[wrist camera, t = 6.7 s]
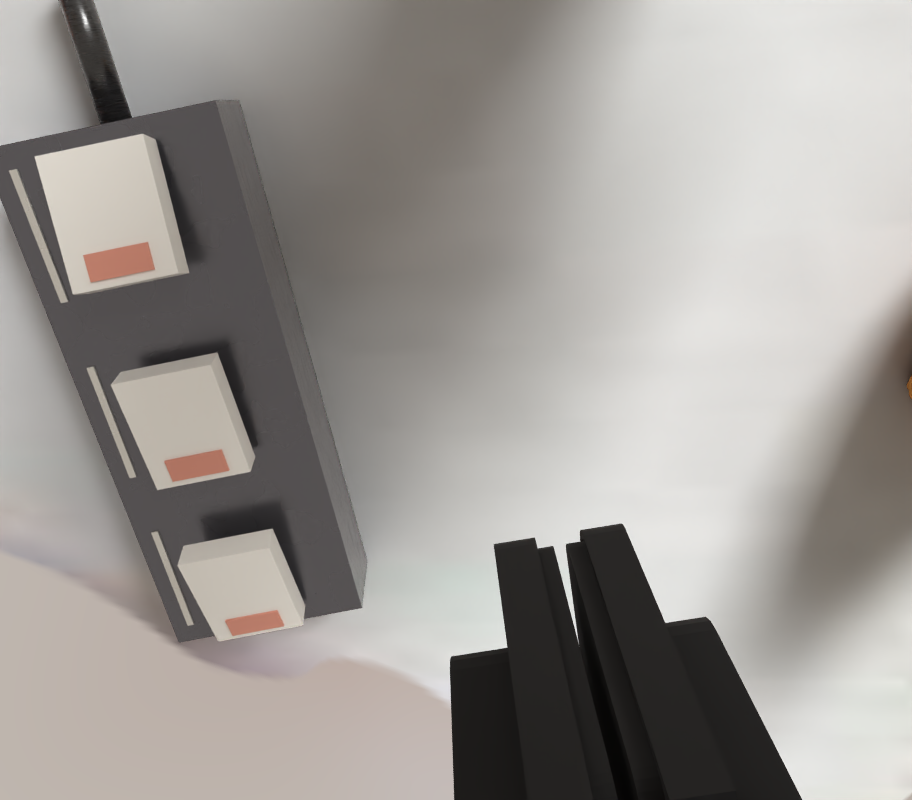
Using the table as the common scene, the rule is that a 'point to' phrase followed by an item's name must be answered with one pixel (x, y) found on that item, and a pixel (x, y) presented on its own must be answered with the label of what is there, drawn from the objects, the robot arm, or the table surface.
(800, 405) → the table surface
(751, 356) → the table surface
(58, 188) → the block
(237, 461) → the plate
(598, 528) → the robot arm
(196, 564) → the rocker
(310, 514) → the power strip
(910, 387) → the coffee package
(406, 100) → the table surface
